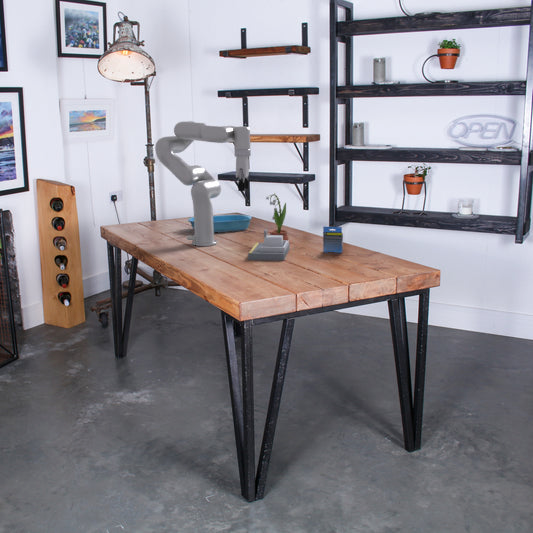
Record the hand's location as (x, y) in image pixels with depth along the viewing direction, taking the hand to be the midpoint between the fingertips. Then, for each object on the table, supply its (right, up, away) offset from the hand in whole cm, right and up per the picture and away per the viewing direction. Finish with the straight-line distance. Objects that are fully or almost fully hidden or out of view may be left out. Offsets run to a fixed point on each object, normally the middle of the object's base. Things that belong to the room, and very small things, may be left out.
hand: (243, 189), depth 306 cm
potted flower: (+16, -25, +18) cm, 35 cm away
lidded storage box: (+14, -28, -10) cm, 33 cm away
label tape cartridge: (+42, -30, -6) cm, 52 cm away
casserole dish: (-15, -16, +56) cm, 60 cm away
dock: (+12, -31, -9) cm, 35 cm away
